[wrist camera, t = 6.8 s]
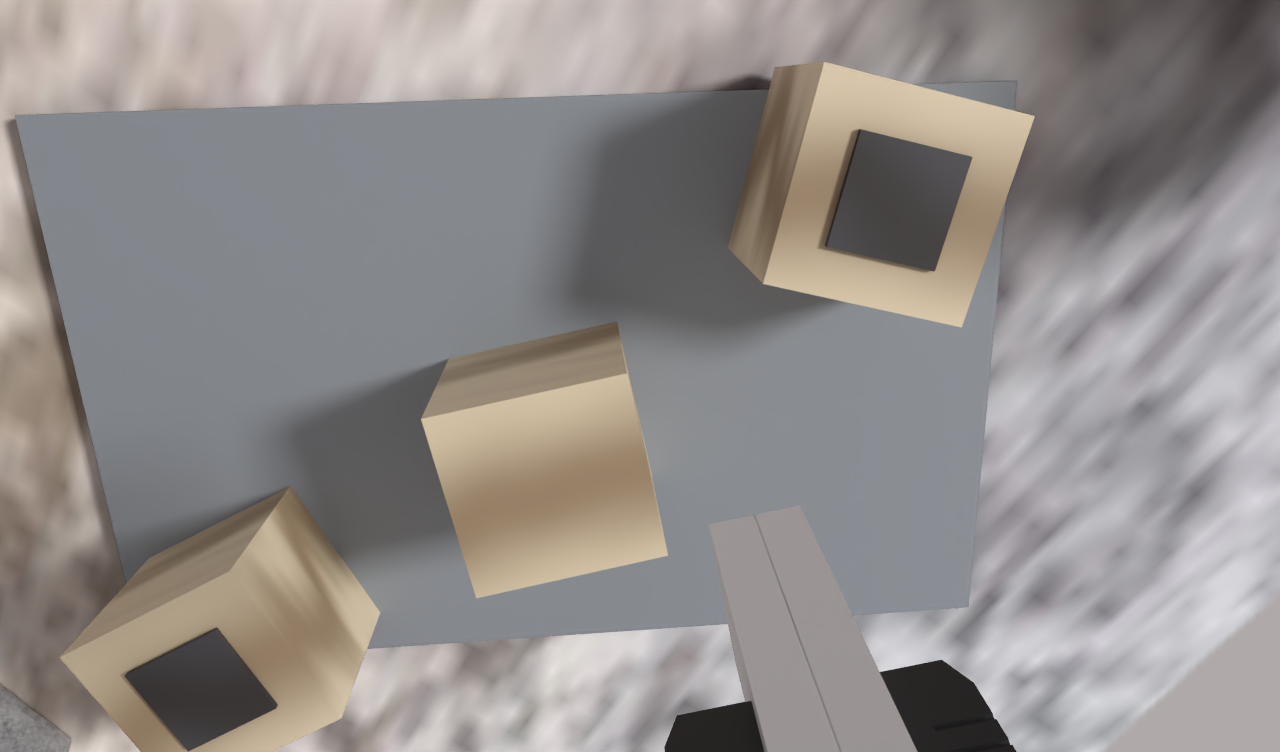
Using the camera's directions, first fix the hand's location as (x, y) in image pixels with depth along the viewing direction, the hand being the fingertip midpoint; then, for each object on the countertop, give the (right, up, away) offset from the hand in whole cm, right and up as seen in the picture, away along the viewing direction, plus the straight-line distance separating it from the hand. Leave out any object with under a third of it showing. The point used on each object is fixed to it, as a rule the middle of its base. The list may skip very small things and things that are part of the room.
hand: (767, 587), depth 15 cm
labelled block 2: (+5, +10, +16) cm, 19 cm away
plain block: (-5, +2, +17) cm, 18 cm away
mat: (-5, +3, +18) cm, 19 cm away
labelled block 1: (-16, -4, +19) cm, 25 cm away
